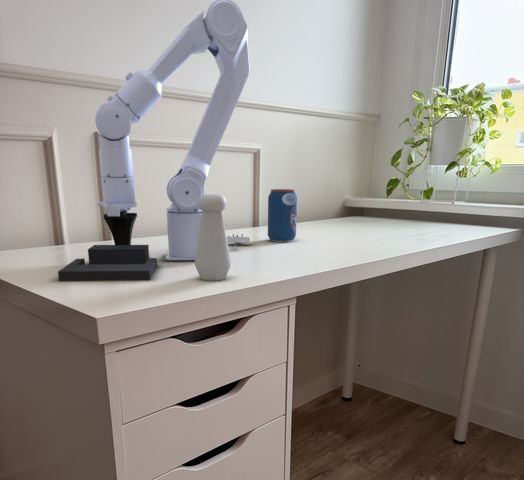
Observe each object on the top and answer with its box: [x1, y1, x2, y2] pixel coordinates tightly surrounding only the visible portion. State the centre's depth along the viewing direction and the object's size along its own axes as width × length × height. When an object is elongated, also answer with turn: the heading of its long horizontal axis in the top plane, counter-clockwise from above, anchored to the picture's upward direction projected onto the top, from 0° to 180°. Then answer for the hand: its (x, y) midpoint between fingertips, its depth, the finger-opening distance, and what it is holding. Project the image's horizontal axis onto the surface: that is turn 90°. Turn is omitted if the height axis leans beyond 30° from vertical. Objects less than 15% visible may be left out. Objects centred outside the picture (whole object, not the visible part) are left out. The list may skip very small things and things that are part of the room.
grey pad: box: [87, 244, 150, 265], centre depth 95 cm, size 10×6×3 cm, turn 95°
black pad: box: [57, 257, 158, 282], centre depth 86 cm, size 14×12×2 cm
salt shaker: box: [194, 193, 232, 282], centre depth 81 cm, size 6×6×13 cm
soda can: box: [267, 188, 298, 243], centre depth 125 cm, size 7×7×12 cm
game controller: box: [226, 233, 251, 248], centre depth 117 cm, size 6×12×3 cm, turn 16°
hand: (123, 252), depth 99 cm, fingers closed
